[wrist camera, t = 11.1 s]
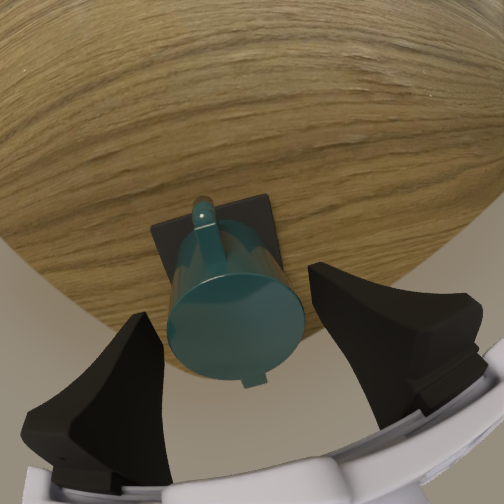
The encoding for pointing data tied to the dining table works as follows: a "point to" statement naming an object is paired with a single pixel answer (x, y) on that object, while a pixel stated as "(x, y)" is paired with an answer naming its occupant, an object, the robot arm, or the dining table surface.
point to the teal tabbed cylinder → (230, 302)
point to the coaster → (244, 211)
